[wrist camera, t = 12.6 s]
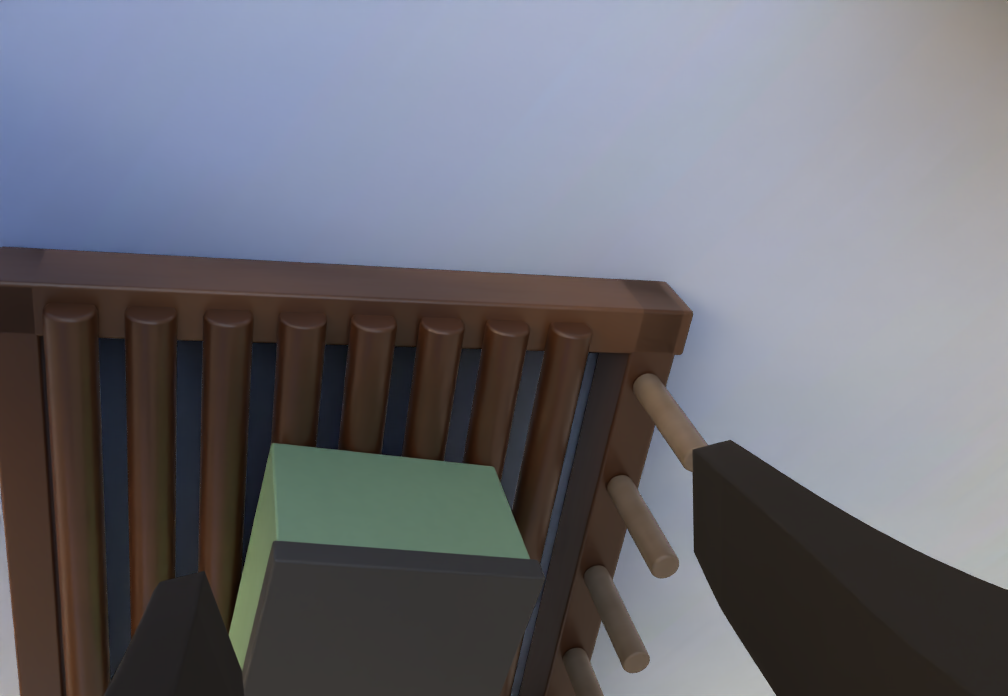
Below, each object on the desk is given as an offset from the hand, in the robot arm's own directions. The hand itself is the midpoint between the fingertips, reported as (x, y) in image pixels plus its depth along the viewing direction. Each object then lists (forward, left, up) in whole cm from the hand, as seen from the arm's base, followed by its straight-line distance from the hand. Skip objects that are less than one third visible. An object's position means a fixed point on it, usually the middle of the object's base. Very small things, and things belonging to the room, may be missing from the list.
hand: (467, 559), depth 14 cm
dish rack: (0, -8, -10) cm, 13 cm away
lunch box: (0, -8, -7) cm, 11 cm away
